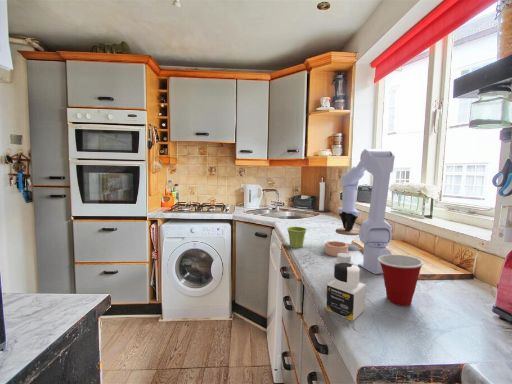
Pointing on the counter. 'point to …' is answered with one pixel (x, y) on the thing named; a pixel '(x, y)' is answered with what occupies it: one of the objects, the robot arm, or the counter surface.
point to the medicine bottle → (346, 292)
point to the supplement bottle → (343, 258)
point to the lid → (347, 231)
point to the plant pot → (296, 236)
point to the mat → (353, 247)
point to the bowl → (336, 248)
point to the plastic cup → (400, 277)
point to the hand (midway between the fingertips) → (347, 228)
